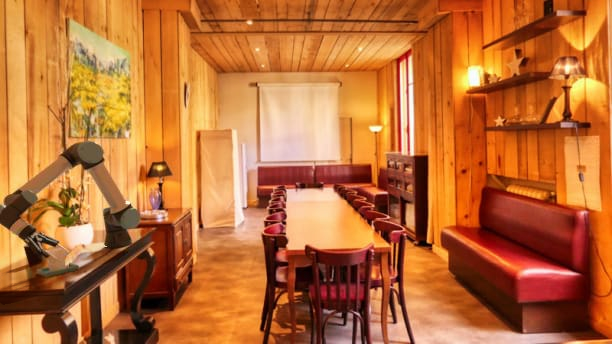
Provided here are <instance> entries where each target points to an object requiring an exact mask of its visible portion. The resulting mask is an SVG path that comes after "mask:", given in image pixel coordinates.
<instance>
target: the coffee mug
mask: <svg viewBox="0 0 612 344" xmlns="http://www.w3.org/2000/svg"><path fill="white" fill-rule="evenodd" d="M40 244H41V243H40ZM41 246H42V247H43V243H42V244H41ZM23 248H24V249H23V250H24V253H25V256H26V259H27V263H28V265H29V266H33V265H38V264H42V263H43V262H44V261H43V260H44V259H43V258H44V257H43V256H42V255H40V256H38V255H36V254H35V253H34V252H33V251H32V249H31V248H30V247H29V246H28V245H27V244H26V245H23Z"/></svg>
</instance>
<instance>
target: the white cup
mask: <svg viewBox="0 0 612 344" xmlns="http://www.w3.org/2000/svg"><path fill="white" fill-rule="evenodd" d="M64 248H65V247H64ZM64 248H55V247H54V248H52V249H48V250H46V251H48V252H49V253H51V254H52V255H53V256H55V257H56V258H57V259H56V261H55V262H54V263H52V262H50V261H49V260H47V259H46V261H47V265H48V266H47V267H49V271H50V272H53V271H57V270H61V269H64V268H66V267H65V263H66V256H65V252H64Z"/></svg>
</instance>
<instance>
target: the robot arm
mask: <svg viewBox="0 0 612 344" xmlns="http://www.w3.org/2000/svg"><path fill="white" fill-rule="evenodd" d="M105 161H106V159H105V158H104V149H103V147H102V146H101V145H100V143H98V142H96V141H92V140H84V141H81V142H75V143H73V144H72V145H70V146H69V147H67V148H66V149H65V150H64V151H63V152H61V153H60V154H59V155H58V156H57V159H55V160H54V161H53V162H52V163H50V164H49V165H48V166H47V167H45V168H44V169H42V170H41V171H40V172H38V173H37V174H36V175H35V176H34V177H32V178H30V180H28V181H27V182H25V183H24V184H23V185H22V186H20V187H19V188H18V189H16V190H15V191H14V192H12V193H9V194H8V195H6V196H5V197H4V198H3V202H2V203H3V204H0V225H1V226H3V227H4V228H6V229H7V230H8V231H10V232H11V234H12V235H15V236H18V238H19V239H21V240H22V241H23V242H24V243H25V244H26V245H28V246H29V247H30V248H31V249H32V251H33V252H34V253H35V254H36V255H38V256H40V255H42V256H43V258H45V259H46V261H47V260H49V261H50V262H52V263H54V262H55V261H56V259H57V258H56V257H55V256H53V255H52V254H51V253H49V252H48V251H47V250H46V249H44V247H43V245H47V246H51V247H53V248H54V249H55V248H64V252H65V257H66V256H67V255H68V254H69V253H70V250H68V249H67V248H65V247H64V246H62V245H61V244H60V240H58V239H56V238H53V237H52V236H49V235H47V234H46V233H44V232H42V231H39V233H38V232H37V227H36V226H34V225H33V224H30V222H29V221H27V220H26V219H24V218H23V217H22V215H24V213H26V212H27V211H28V210H29V209H30V208H31V207H32V206H34V205H35V204H36V203H37V201H39V197H38V194H39V193H41V192H42V191H43V190H44V189H46V188H47V187H48V186H49V185H50V184H51V183H54V181H56V180H57V179H58V178H59V177H61V176H62V175H63V174H64V173H66V172H67V171H68V170H73V169H74V168H75V167H77V166H80V165H81V167H82V168H83V171H86V172H89V174H90V177H92V179H93V181H94V183H95V184H96V186H97V187H98V189H99V190H100V192H101V194H102V196H103V198H104V199H105V201H106V203H107V204H108V206H109V207H105V208H103V209H102V216H103V221H104V227H105V229H104V230H105V237H104V242H103V243H104V244H103V246H104V245H105V246H107V247H109V248H108V249H115V248H116V249H117V248H120V247H121V248H123V247H126V246H129V245H132V243H133V239H132V237H131V235H130V233H129V232H128V230H131V229H132V230H133V229H135V228H137V227H138V226H139V224H140V222H141V217H142V216H141V213H140V211H139V210H138V209H137V208H135V207H133V206H132V203H131V202H130V201H128V200H126V199H125V197H124V196H123V194H122V192H121V190H120V189H119V187H118V185H117V183H116V182H115V180H114V179H113V177H112V175H111V173H110V172H109V169H108V168H107V166H106V165H105ZM40 243H41V244H42V246H41V244H40Z"/></svg>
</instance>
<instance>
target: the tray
mask: <svg viewBox="0 0 612 344" xmlns="http://www.w3.org/2000/svg"><path fill="white" fill-rule="evenodd" d="M79 267H80V266H79V264H76V263H73V262H70V263H69V267H66V268H64V269H61V270H57V271H53V272H50V271H49V266H47V267H42V268H39V269H36V271H37V275H39V276H42V277H44V278H48V279H49V278H51V277H55V276H56V277H57V276H60V275H63V274H67V273H71V272H74V271H79V270H80V268H79Z"/></svg>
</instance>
